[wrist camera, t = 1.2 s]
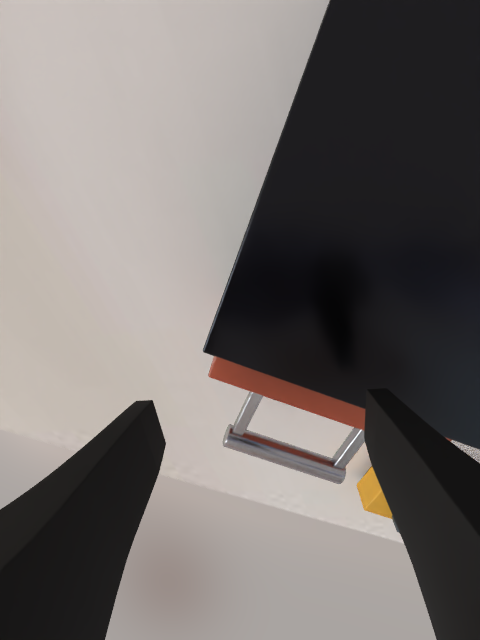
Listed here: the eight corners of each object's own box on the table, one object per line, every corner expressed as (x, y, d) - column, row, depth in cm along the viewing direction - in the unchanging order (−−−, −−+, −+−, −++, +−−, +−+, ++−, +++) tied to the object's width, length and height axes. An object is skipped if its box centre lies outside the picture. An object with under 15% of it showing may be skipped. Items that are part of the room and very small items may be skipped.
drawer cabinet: (411, 360, 19) (486, 452, 13) (224, 291, 18) (202, 352, 12) (619, 80, 13) (982, -22, 6) (349, -50, 12) (449, -331, 5)
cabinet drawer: (353, 441, 21) (378, 517, 16) (198, 388, 20) (177, 453, 15) (573, 144, 13) (753, 124, 8) (333, 35, 12) (378, -61, 7)
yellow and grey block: (457, 471, 23) (491, 523, 19) (426, 500, 24) (453, 553, 21) (379, 444, 22) (400, 492, 19) (353, 476, 24) (368, 526, 20)
